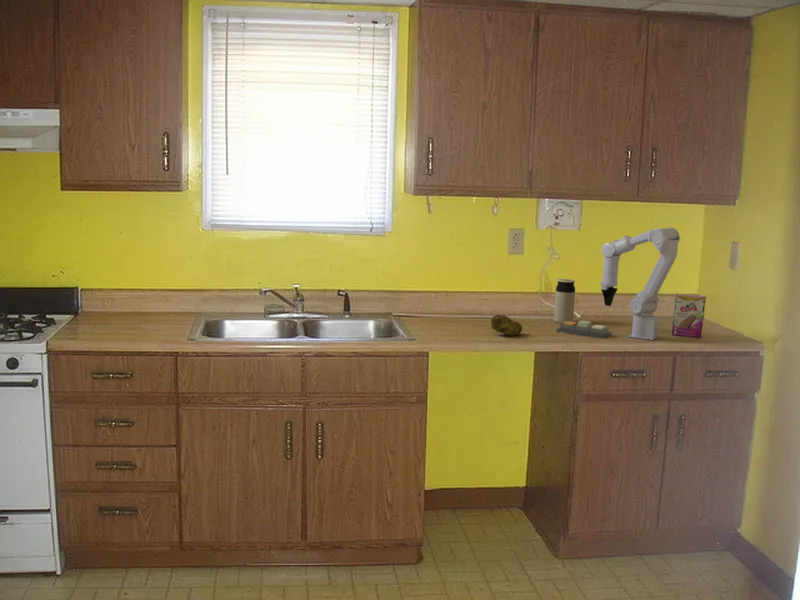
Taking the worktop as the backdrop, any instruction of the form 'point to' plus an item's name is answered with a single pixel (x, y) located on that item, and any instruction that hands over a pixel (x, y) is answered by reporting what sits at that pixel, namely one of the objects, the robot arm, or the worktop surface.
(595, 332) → the panel
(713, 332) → the worktop surface
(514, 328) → the potato
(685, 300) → the candy bar box
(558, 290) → the travel mug
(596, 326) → the button cream
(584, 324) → the button sage
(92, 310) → the worktop surface
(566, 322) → the button orange
